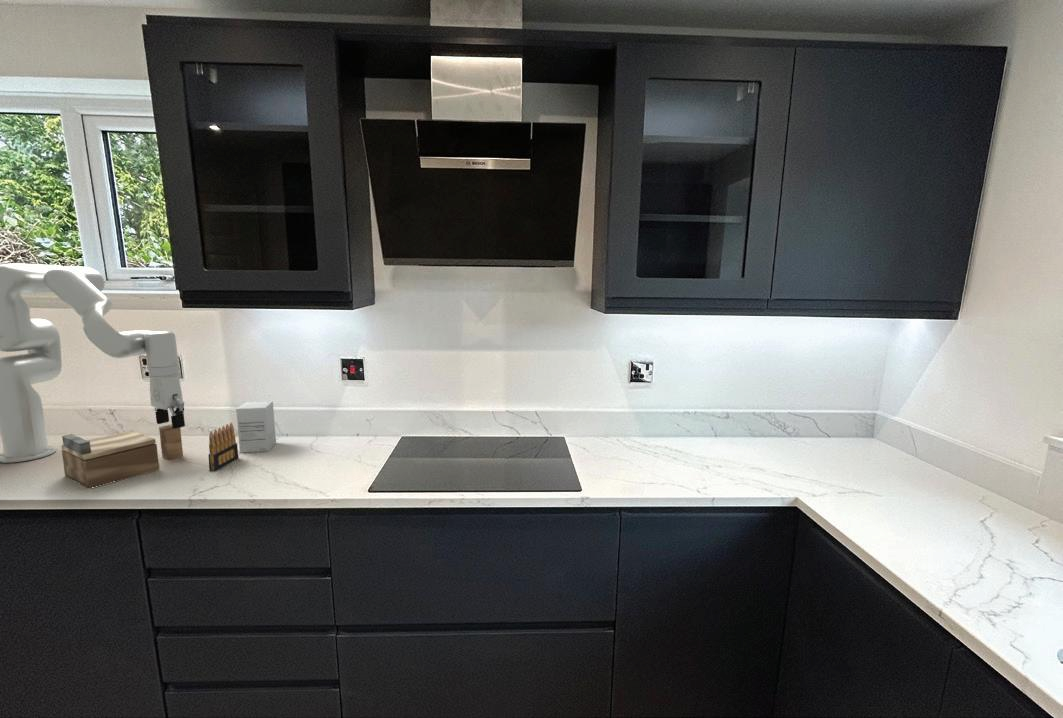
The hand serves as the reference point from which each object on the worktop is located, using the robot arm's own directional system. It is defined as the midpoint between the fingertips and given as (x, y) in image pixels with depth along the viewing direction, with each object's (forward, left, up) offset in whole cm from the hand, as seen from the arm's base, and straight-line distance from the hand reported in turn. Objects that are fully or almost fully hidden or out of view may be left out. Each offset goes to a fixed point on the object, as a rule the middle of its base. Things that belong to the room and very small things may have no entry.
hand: (170, 425), depth 148 cm
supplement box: (+14, +19, -11) cm, 26 cm away
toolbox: (0, -15, -10) cm, 18 cm away
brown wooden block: (0, 0, -10) cm, 10 cm away
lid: (0, -15, -2) cm, 15 cm away
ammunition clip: (+20, +5, -11) cm, 23 cm away
